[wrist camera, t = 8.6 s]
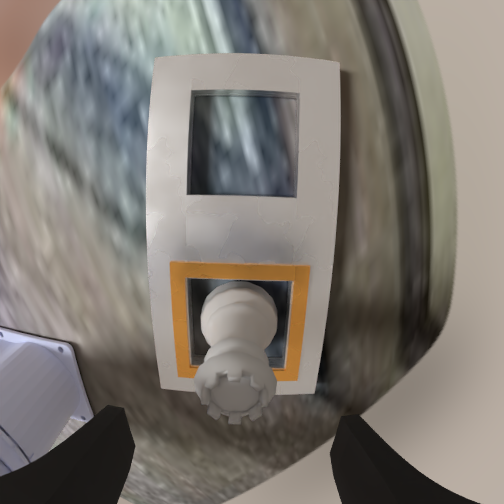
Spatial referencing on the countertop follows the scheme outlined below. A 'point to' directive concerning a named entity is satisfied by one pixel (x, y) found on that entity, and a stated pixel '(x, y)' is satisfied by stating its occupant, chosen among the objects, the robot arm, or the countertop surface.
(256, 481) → the countertop surface
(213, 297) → the rook chess piece
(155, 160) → the rail plate
